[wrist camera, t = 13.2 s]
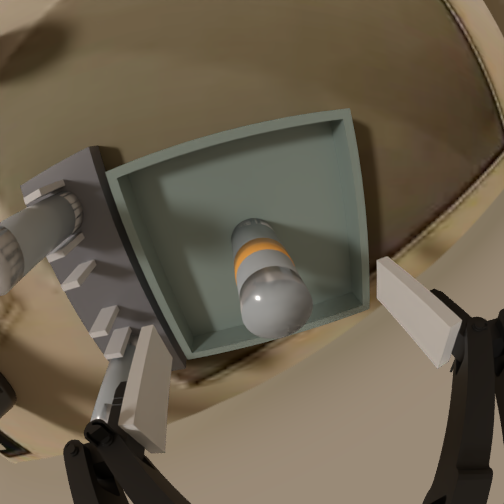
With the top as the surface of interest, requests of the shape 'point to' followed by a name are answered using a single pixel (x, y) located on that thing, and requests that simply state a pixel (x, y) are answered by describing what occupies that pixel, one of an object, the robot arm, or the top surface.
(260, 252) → the marked fuse
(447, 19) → the top surface
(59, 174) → the fuse block
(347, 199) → the tray
